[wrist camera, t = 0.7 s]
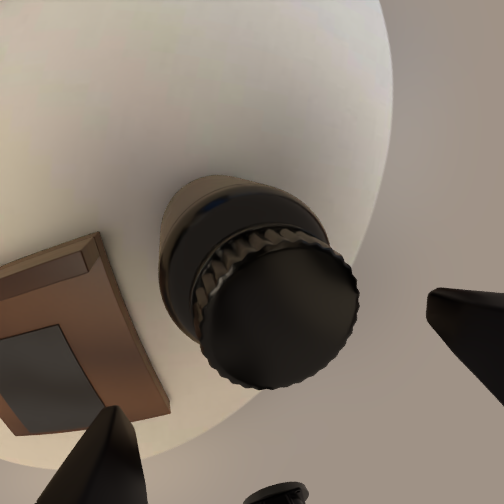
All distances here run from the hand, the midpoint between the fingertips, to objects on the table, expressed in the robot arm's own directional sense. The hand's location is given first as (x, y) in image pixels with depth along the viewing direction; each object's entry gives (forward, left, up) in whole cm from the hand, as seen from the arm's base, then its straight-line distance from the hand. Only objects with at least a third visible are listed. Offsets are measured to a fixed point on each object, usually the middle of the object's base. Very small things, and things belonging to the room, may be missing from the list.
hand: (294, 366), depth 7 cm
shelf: (-4, +15, -13) cm, 20 cm away
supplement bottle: (+1, 0, -13) cm, 13 cm away
